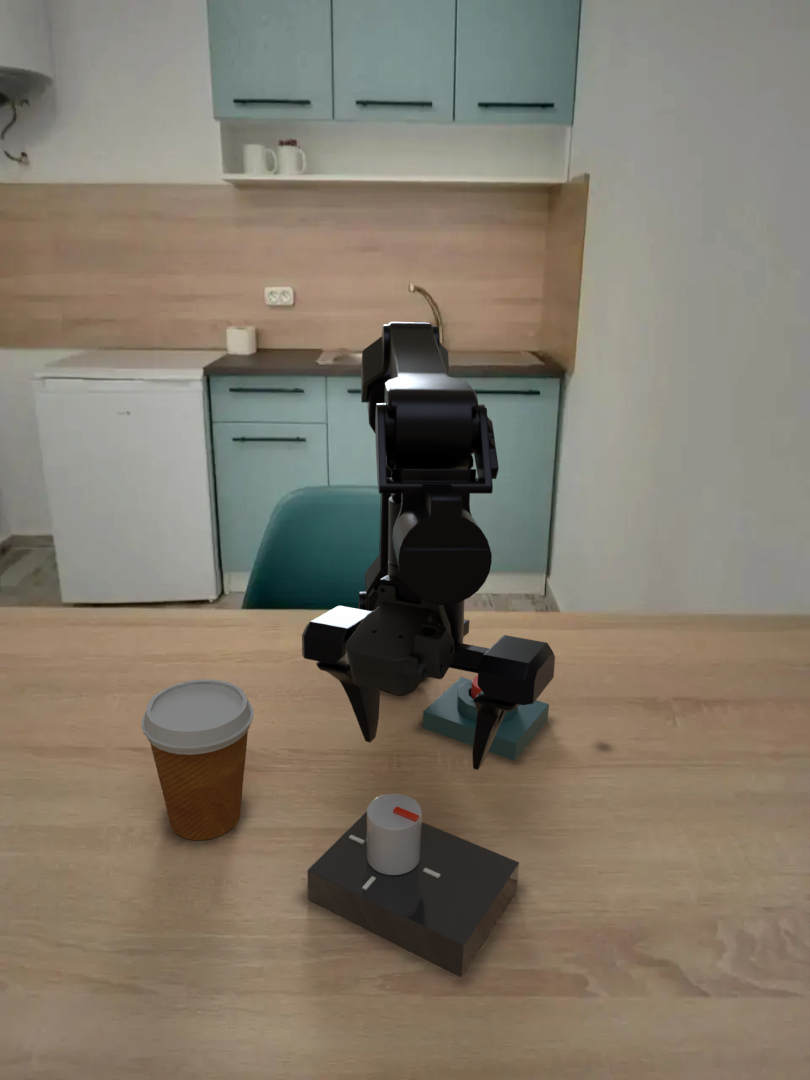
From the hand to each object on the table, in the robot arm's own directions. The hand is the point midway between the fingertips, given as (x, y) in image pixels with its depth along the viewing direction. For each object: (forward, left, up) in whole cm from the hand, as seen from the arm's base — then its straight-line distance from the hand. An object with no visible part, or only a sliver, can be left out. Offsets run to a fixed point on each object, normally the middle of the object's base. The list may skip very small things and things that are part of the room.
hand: (422, 753), depth 65 cm
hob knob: (-2, -1, -10) cm, 10 cm away
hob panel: (0, -1, -13) cm, 13 cm away
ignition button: (-6, +25, -9) cm, 27 cm away
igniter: (-6, +25, -13) cm, 28 cm away
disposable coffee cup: (-21, -3, -13) cm, 25 cm away
